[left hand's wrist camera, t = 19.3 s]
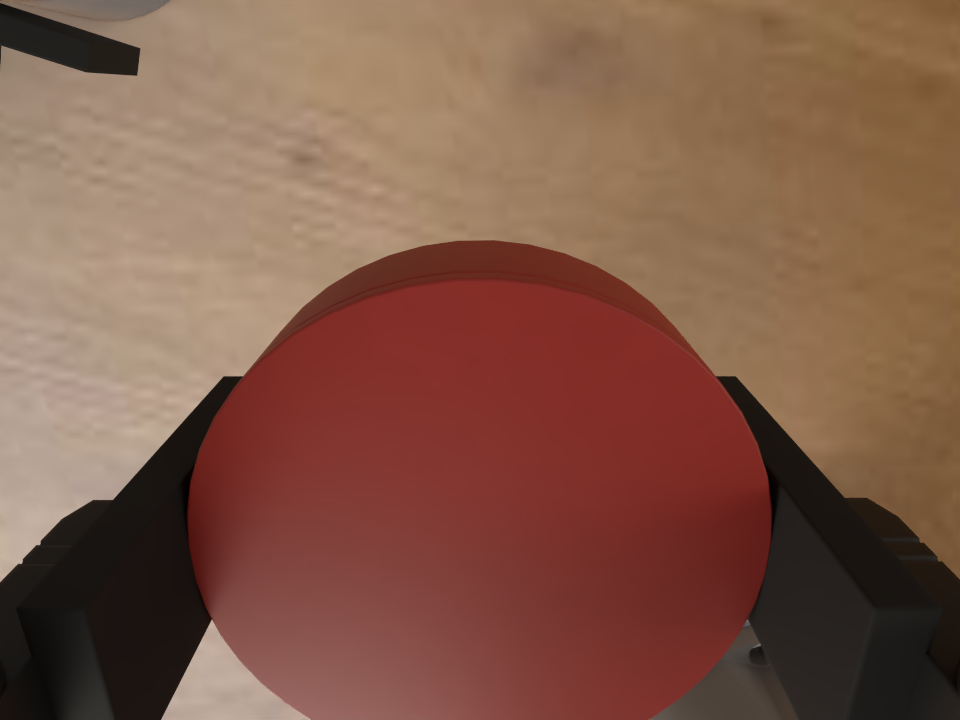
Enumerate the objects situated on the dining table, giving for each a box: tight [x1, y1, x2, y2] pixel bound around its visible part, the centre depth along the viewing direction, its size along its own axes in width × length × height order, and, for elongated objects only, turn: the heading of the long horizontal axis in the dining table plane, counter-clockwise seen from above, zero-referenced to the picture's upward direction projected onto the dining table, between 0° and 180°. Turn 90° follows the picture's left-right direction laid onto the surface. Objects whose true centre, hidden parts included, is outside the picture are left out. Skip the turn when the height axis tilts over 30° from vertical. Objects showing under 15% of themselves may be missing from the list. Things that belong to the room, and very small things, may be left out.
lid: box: [187, 240, 772, 720], centre depth 11 cm, size 9×9×2 cm
